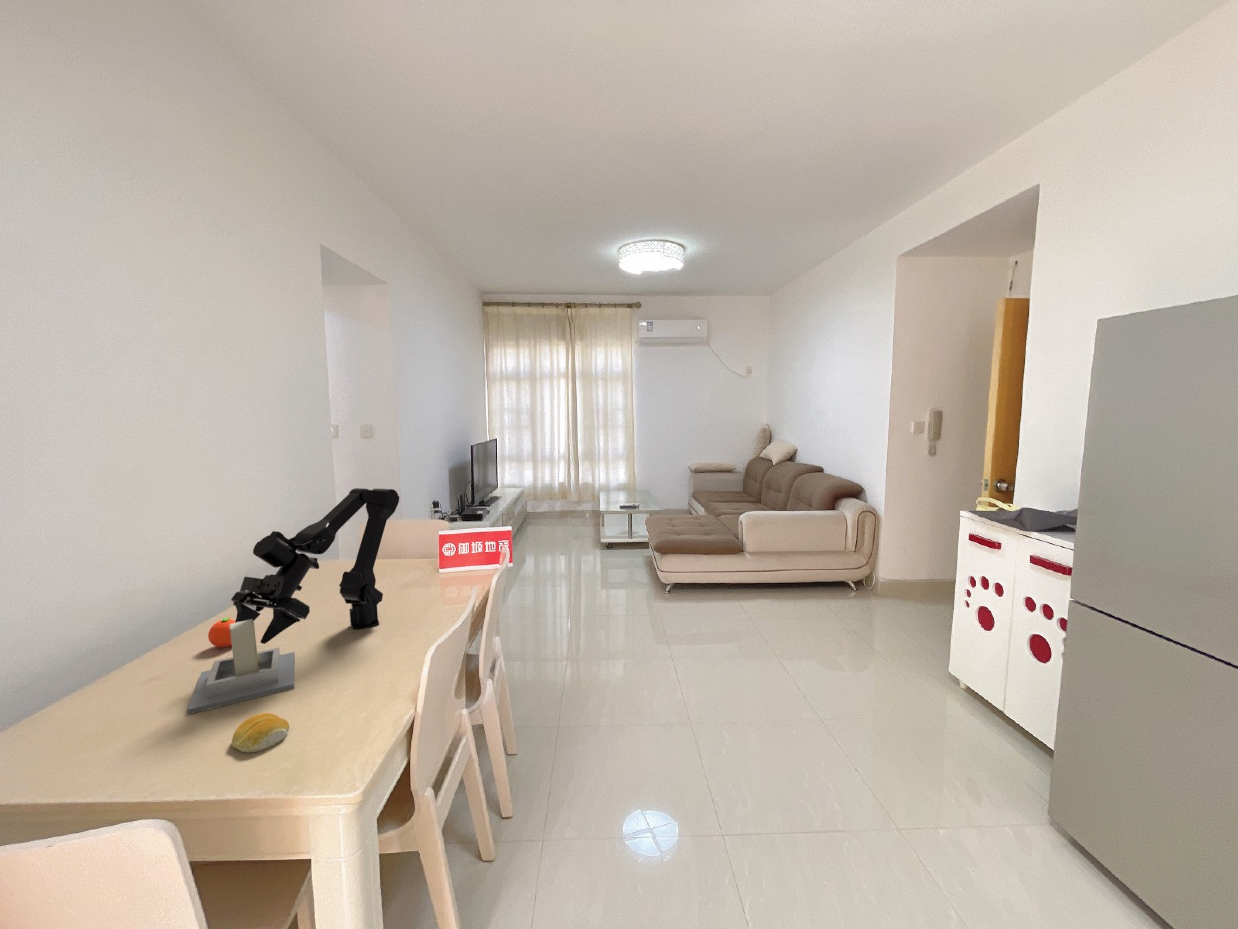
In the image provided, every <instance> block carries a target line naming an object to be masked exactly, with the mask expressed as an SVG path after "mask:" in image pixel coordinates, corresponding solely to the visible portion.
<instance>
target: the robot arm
mask: <svg viewBox="0 0 1238 929" xmlns="http://www.w3.org/2000/svg"><path fill="white" fill-rule="evenodd" d="M399 503H400V496H399V494H398V492H397V491H396V490H395V489H393V488H373V489H368V488H362V487H361V488H360V487H359V488H358V487H356V488H353V489H351V490H350V491H349V493H348V495H346V496H345V497H344V498H343V499H342V500H341V501H340V502H338V504H337V505H335V506H334V507H333V508H332V509H331V510H330V511H329V512H328V513H327V514H326V515H325V516H323V518H322V519H319V521H317V522H314V523H312V524H309V525H307V526H306V527H305V528H302V529H301V530H300V531H298V532H297V533H296V535H295V536H293V537H291V538H287V537H286V536H285V535H284V534H283V533H282V532H280V531H275V530H273V531H271V533H270V535H269V534H268V535H267V536H264V537H263V538H262V539H260V540H259V541H257V542H256V543H255V545H254V547H253V548H252V554H253V555H254V556H256V557H257V558H259V559H260V560H262V561H263V562H265V563H266V564H268V565H270V566H271V567H273V568H276V569H277V568H278V570H277V572H276V573H275V574H266V575H265V576H264V577H263V578H260V577H252V576H243V581H242V583H241V586H240V589H239V590H238V591H236V592H235V593H234V595H233V596H232V597H231V599H230V600H231V601H232V602H233V606H235V608H236V619H235V623H236V622H241V621H245V620H249V619H253V622H255V620H257V619H258V618H259V616H260V615H261V611H263V610H264V609H265V608H266V609H271V610H272V614H273V615H272V619H271V621H270V622H269V625H268V626H267V628H266V630H265V631H264V634H263V635H262V637H261V639H260V643H261V644H262V645H263V644H264V645H265V644H267V643H269V642H271V641H272V640H273V639H274V638H275V637H276V636H278V635H280V634H281V633H282V632H283V631H285V630H287V629H288V628H289V627H291V626H292V625H294V624H295V623H300V622H301V620H306V619H307V618H308V615H309V614H310V612H311V610H310V606H309V605H308V604H306V603H304V602H303V601H301V599H298V598H296V597H293V596H294V594H295V592H297V591H298V592H301V590H302V589H303V586H301V585H300V584H302V581H303V580H304V578H305V577H306V575H307V573H308V572H309V570H310V569H315V570H319V569H320V565H319V562H318V557H311V556H308V555H307V554H312V555H323V554H324V553H326V552H327V551H328V549H330V547H331V545H332V544H333V543H334V542H335V538H336V535H337V533H338V532H339V530H340V529H341V528H342V527H344V525H345V524H346V523H347V522H349V521H350V519H352V517H354V516H355V514H357V513H358V512H359V511H360V509H362V508H363V507H364V506H365V509H366V513H367V522H366V524H365V528H364V531H363V534H362V538H361V541H360V545H359V548H358V551H357V556H356V559H355V562H354V565H353V567H352V568H351V569H350V570H349V571H344V572H343V573H342V578H341V582H340V583H339V585H338V587H340V589H339V594H340V596H341V597H342V599H343V600H344V602H345V604H347V605H351V608H349V609H348V610H349V623H350V626H352V628H353V630H358V629H363V628H368V627H373V626H378V625H380V621H379V616H378V605H379V603H381V602H382V601H383V597H384V593H383V592H381V591H380V590H379V589H377V588H376V583H377V582H376V580H377V579H376V574H375V573H374V569H375V568H374V566H375V563H376V559H377V556H378V553H379V549H380V546H381V542H382V538H383V535H384V531H385V528H386V524H387V521H388V520H389V519H390V518H391V516H393V514H394V513H395V512H396V510H397V507H398V506H399Z"/></svg>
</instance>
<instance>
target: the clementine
mask: <svg viewBox="0 0 1238 929" xmlns="http://www.w3.org/2000/svg"><path fill="white" fill-rule="evenodd" d="M235 621H236V619H231V618H230V617H227V618H223V619H221V620H219V621H217V622H215V623H214V624H213V625H212V626H211V627H210V629H209V630H208V634H207V638H208V642H210V644H212V645H213V646H214V647H217V648H228V647H230V646H232V643H231V634H230V624H231V623H235Z"/></svg>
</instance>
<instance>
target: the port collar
mask: <svg viewBox="0 0 1238 929" xmlns="http://www.w3.org/2000/svg"><path fill="white" fill-rule="evenodd" d="M280 655H281V650H280V647H276V648H275V647H274V648H270V649H266V650H265V649H264V650H261V651H257V656H258V664H259V666H262V665H266V664H271V663H272V667H271V668H269V669H265V670H261V671H256V672H252V673H247V674H243V675H238V676H234V677H229V678H225V679H221V680H220V677H221V674H226V673H230V672H235V668H234V660H233V656H231V657H228V658H222V659H218V660H214V661H213V663H212V667H211V668H210V670H211V672H210V675H209V678H208V680H207V683H206V691H207V699H209V698H213V697H218V696H222V695H226V694H230V693H234V692H239V691H243V690H247V689H251V688H255V687H260V686H264V685H268V684H272V683H276V682H279V673H280Z"/></svg>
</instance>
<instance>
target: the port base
mask: <svg viewBox="0 0 1238 929" xmlns="http://www.w3.org/2000/svg"><path fill="white" fill-rule="evenodd" d="M295 659H296V655H295V651H293V652H292V651H291V652H288V653H284V654H280V673H279V682H276V683H272V684H268V685H264V686H260V687H255V688H251V689H247V690H243V691H239V692H234V693H230V694H226V695H222V696H218V697H213V698H209V699H207V691H206V683H207V680H208V678H209V675H210V672H211V669H208V670H205V671H204V670H203V671H201V673H200V675H199V678H198V680H197V683H196V686H195V689H194V691H193V694H192V697H191V698H190V699H191V700H190V702H189V705H188V707H187V715H192V714H193V713H192V712H196V713H199V711H200V712H203V711H202V710H204V711H207V710H206V709H208V710H210V709H209V708H212V709H215V708H214V707H216V708H218V707H217V706H220V705H224V706H227V705H226V704H228V705H231V704H230V703H232V704H234V703H233V702H236V703H240V702H244V701H248V700H251V699H257V698H260V697H264V696H268V695H273V694H277V693H279V692H284V691H289V690H293V689H295V664H296V663H295V662H296V660H295ZM271 667H272V663H271V664H266V665H262V666H259V671H261V670H265V669H269V668H271ZM234 676H235V672H230V673H226V674H221V677H220V680H221V679H225V678H229V677H234ZM220 707H221V706H220ZM191 713H192V714H191Z"/></svg>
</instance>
